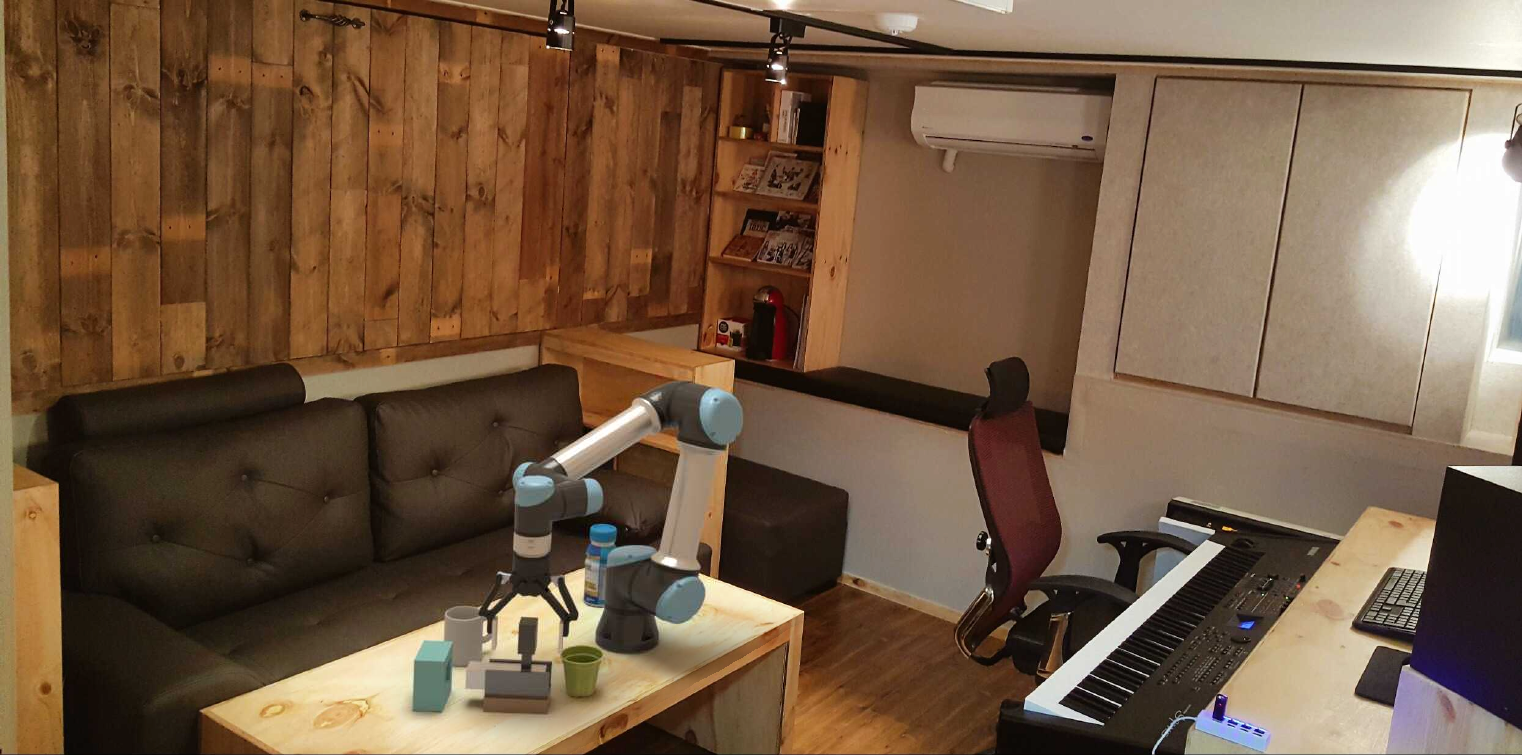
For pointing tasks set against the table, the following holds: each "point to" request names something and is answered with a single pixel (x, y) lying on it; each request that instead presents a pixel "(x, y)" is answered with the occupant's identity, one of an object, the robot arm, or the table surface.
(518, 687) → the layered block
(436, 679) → the socket block
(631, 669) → the table surface
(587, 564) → the beverage bottle
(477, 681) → the grey sliding latch bolt
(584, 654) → the plant pot
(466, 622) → the mug
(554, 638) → the table surface
